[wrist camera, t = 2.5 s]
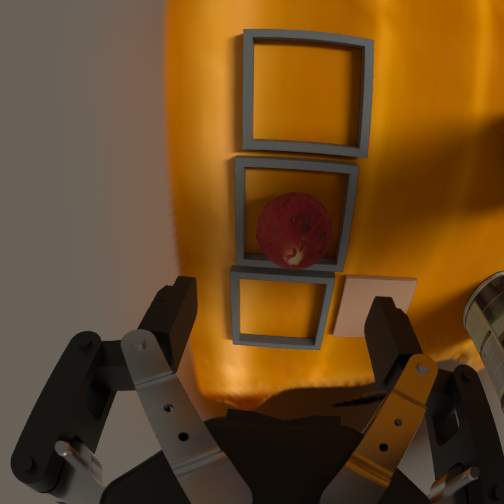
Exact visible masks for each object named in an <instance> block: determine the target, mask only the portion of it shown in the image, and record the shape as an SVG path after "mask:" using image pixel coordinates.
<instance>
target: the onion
mask: <svg viewBox="0 0 504 504" xmlns="http://www.w3.org/2000/svg"><path fill="white" fill-rule="evenodd" d="M256 238H257V241H258V244H259V246H260V249H261V251H262V252H263V253H264V254H265V256H266V257H267V258H268V259H269V260H270V261H271V262H273V263H274V264H276V265H278V266H280V267H282V268H286V269H293V270H297V269H304V268H308V267H310V266H312V265H313V264H315V263H317V262H318V261H319V260H320V259H321V258H322V257H323V256H324V254H325V253H326V252H327V250H328V247H329V244H330V242H331V239H332V228H331V219H330V217H329V215H328V214H327V212H326V210H325V209H324V207H323V205H322V204H321V203H320V202H319V201H317V200H316V199H314V198H312V197H311V196H309V195H307V194H300V193H293V192H292V193H289V194H286V195H282V196H279V197H278V198H276V199H275V200H273V201H272V202H271V203H269V204H268V205H267V206H266V207H265V208H264V210H263V212H262V214H261V215H260V217H259V219H258V224H257V231H256Z"/></svg>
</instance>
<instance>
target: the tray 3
mask: <svg viewBox="0 0 504 504" xmlns="http://www.w3.org/2000/svg"><path fill="white" fill-rule="evenodd" d="M239 278H240V279H254V280H268V281H283V282H299V283H316V284H325V285H324V291H323V296H322V302H321V307H320V312H319V318H318V323H317V327H316V332H315V337H314V338H295V337H279V336H265V335H252V334H241V333H240V290H239ZM334 283H335V275H334V272H332V271H315V270H299V269H297V270H293V269H283V268H268V267H253V266H238V265H232V267H231V270H230V286H231V312H232V336H233V344H235V345H246V346H257V347H270V348H285V349H304V350H320V347H321V343H322V339H323V334H324V330H325V326H326V321H327V317H328V312H329V307H330V303H331V298H332V293H333V288H334Z"/></svg>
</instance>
